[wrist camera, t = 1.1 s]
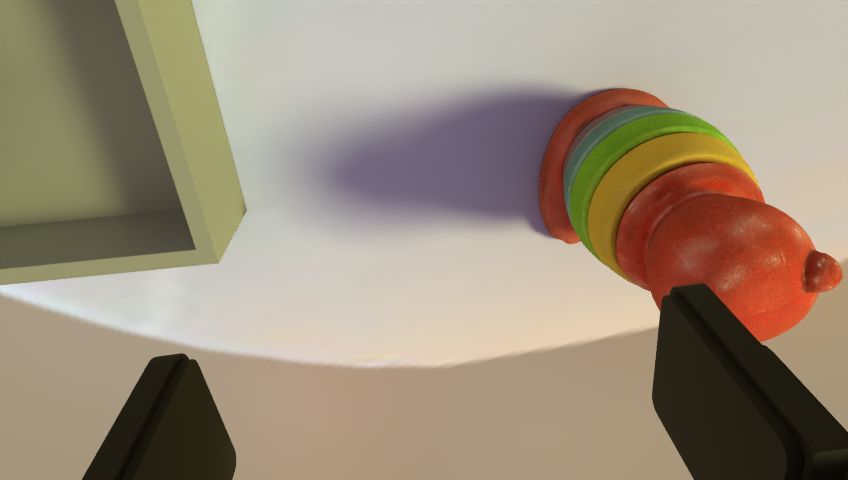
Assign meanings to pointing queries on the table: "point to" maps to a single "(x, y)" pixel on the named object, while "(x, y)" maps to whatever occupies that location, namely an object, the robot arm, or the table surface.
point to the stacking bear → (677, 210)
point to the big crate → (109, 141)
